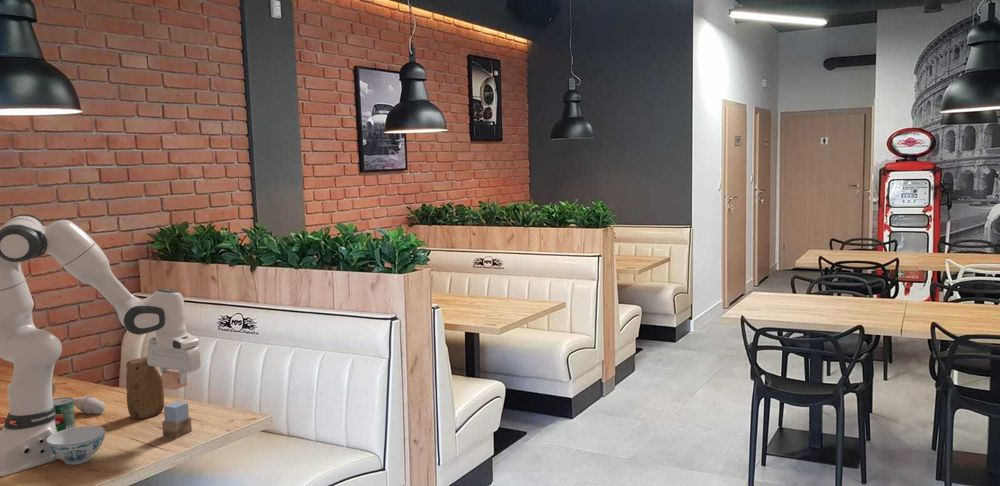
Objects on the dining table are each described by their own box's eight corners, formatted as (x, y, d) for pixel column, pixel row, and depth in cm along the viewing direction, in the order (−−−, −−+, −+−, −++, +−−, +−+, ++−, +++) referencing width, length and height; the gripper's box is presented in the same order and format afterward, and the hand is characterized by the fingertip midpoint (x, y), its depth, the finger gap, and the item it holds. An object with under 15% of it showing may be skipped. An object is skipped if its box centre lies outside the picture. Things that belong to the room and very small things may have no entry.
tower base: (176, 439, 234) (175, 423, 233) (163, 436, 236) (162, 421, 236) (191, 432, 239) (190, 417, 239) (178, 430, 242) (177, 415, 241)
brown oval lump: (134, 421, 250) (130, 363, 248) (126, 416, 255) (122, 359, 253) (167, 413, 258) (163, 357, 255) (158, 408, 263) (155, 353, 261)
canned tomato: (43, 439, 234) (41, 406, 233) (51, 431, 242) (49, 398, 241) (71, 437, 236) (69, 403, 235) (78, 428, 244) (76, 396, 243)
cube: (174, 390, 233) (173, 374, 232) (162, 388, 235) (161, 372, 234) (187, 385, 237) (186, 370, 236) (175, 383, 239) (174, 368, 239)
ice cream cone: (67, 410, 262) (103, 420, 259) (57, 404, 257) (93, 414, 254) (76, 394, 265) (112, 403, 262) (67, 388, 260) (103, 397, 257)
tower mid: (176, 423, 234) (175, 407, 233) (164, 421, 236) (163, 405, 235) (188, 418, 238) (188, 403, 238) (177, 416, 240) (176, 401, 240)
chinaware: (116, 449, 225) (114, 425, 224) (90, 470, 210) (88, 443, 210) (66, 450, 225) (64, 426, 224) (37, 471, 210) (34, 445, 209)
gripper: (140, 338, 236) (143, 381, 237) (186, 344, 227) (189, 388, 228) (157, 334, 241) (159, 375, 243) (202, 340, 233) (205, 383, 234)
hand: (174, 382), depth 236 cm, fingers closed on cube, 5 cm apart
